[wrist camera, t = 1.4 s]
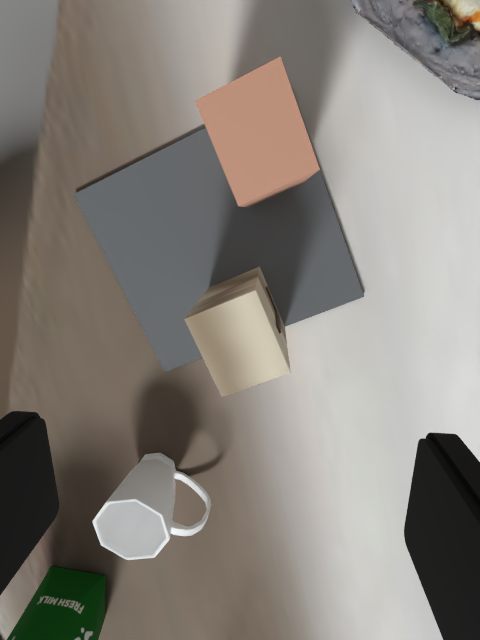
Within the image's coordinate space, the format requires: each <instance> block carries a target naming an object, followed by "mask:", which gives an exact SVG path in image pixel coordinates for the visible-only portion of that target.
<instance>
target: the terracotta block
mask: <svg viewBox="0 0 480 640" xmlns="http://www.w3.org/2000/svg"><path fill="white" fill-rule="evenodd" d="M195 102H196V105H197V107H198V109H199V112H200V114H201V117H202V119H203V122H204V124H205V126H206V129H207V131H208V134H209V136H210V139H211V141H212V143H213V146H214V148H215V151H216V153H217V156H218V158H219V160H220V163H221V165H222V168H223V170H224V173H225V175H226V177H227V180H228V182H229V185H230V187H231V190H232V192H233V194H234V197H235V199H236V202H237V204H238V206H240V207H250V206H252V205H254V204H257V203H259V202H261V201H263V200H265V199H268V198H270V197H272V196H274V195H276V194H279V193H281V192H283V191H285V190H288V189H290V188H292V187H294V186H296V185H299V184H301V183H303V182H305V181H306V180H307V179H308V178H310V177H311V176H312V175H313V174H315V173H316V172H317V171H318V170H320V168H319V165H318V162H317V159H316V156H315V154H314V151H313V148H312V145H311V142H310V139H309V136H308V134H307V131H306V128H305V125H304V122H303V119H302V116H301V114H300V111H299V108H298V105H297V102H296V99H295V96H294V94H293V91H292V88H291V85H290V82H289V79H288V76H287V74H286V71H285V68H284V65H283V62H282V59H281V56H280V57H278V58H276V59H274V60H272V61H270V62H268V63H267V64H265V65H263V66H261V67H259V68H257V69H255V70H253V71H251V72H249V73H247V74H246V75H244V76H242V77H240V78H238V79H236V80H234V81H232V82H230V83H228V84H226V85H224V86H223V87H221V88H219V89H217V90H215V91H213V92H211V93H209V94H207V95H205V96H203V97H202V98H200V99H198V100H196V101H195Z"/></svg>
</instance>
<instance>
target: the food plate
mask: <svg viewBox="0 0 480 640" xmlns="http://www.w3.org/2000/svg"><path fill="white" fill-rule="evenodd" d="M352 4H353V6H354V8H356V11H357V12H358V14H359V13H360V14H359V15H362V17H363V16H364V17H365V18H364V17H363V18H364V19H366V20H367V21H368V22H369V23H370V24H372V25H373V26H374V27H375V28H377V29H378V30H379V31H380V32H382V33H383V34H384V35H385V36H387V37H388V38H389V39H390V40H392V41H393V42H394V44H395V45H396V46H398V47H400V48H401V50H403V51H404V52H405V53H407V54H409V55H410V56H411V57H412V58H413V60H415V61H417V62H419V63H420V64H421V65H423V67H425V68H426V69H427V70H428V71H429V72H431V73H432V74H433V75H435V76H436V77H438V78H439V79H440V80H441V81H442V82H444V83H445V84H446V85H447V86H448V87H449V86H451V87H450V89H451V88H453V87H455V90H453V91H454V92H456V93H459V94H462V95H463V94H464V95H465V96H466V95H467V96H468V97H470V98H472V97H473V99H475V100H480V0H352ZM357 12H356V13H357Z"/></svg>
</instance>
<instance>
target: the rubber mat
mask: <svg viewBox="0 0 480 640" xmlns="http://www.w3.org/2000/svg"><path fill="white" fill-rule="evenodd" d="M73 195H74V197H75V199H76V201H77V203H78V204H79V206H80V208H81V210H82V212H83V214H84V216H85V218H86V220H87V222H88V224H89V226H90V228H91V230H92V232H93V233H94V235H95V237H96V239H97V241H98V243H99V245H100V247H101V249H102V251H103V253H104V255H105V257H106V259H107V261H108V262H109V264H110V266H111V268H112V270H113V272H114V274H115V276H116V278H117V280H118V282H119V284H120V286H121V288H122V290H123V291H124V293H125V295H126V297H127V299H128V301H129V303H130V305H131V307H132V309H133V311H134V313H135V315H136V317H137V319H138V320H139V322H140V324H141V326H142V328H143V330H144V332H145V334H146V336H147V338H148V340H149V342H150V344H151V346H152V348H153V349H154V351H155V353H156V355H157V357H158V359H159V361H160V363H161V365H162V367H163V369H164V371H165V372H167V371H169V370H172V369H174V368H177V367H180V366H182V365H185V364H188V363H190V362H193V361H196V360H198V359H201V358H203V357H202V355H201V353H200V351H199V349H198V347H197V345H196V343H195V340H194V338H193V336H192V334H191V332H190V330H189V328H188V326H187V324H186V322H185V320H184V319H185V317H186V316H187V315H188V314H189V312H190V311H191V310H192V308H193V307H194V306H195V305H196V303H197V302H198V301H199V299H200V298H201V297H202V296H203V294H204V293H205V292H206V290H207V289H208V288H209V287H212V286H214V285H216V284H219V283H221V282H224V281H226V280H228V279H231V278H233V277H236V276H238V275H240V274H243V273H245V272H248V271H250V270H252V269H255V268H257V267H260V269H261V271H262V273H263V276H264V278H265V281H266V283H267V285H268V288H269V290H270V293H271V295H272V297H273V300H274V302H275V305H276V307H277V310H278V312H279V314H280V317H281V319H282V322H283V324H284V326H288V325H290V324H293V323H296V322H298V321H301V320H304V319H306V318H309V317H311V316H314V315H317V314H319V313H322V312H325V311H327V310H330V309H332V308H335V307H338V306H340V305H343V304H346V303H348V302H351V301H354V300H356V299H359V298H361V297H364V294H363V291H362V289H361V286H360V283H359V280H358V277H357V274H356V271H355V269H354V266H353V263H352V260H351V257H350V254H349V251H348V249H347V246H346V243H345V240H344V237H343V234H342V231H341V229H340V226H339V223H338V220H337V217H336V214H335V211H334V209H333V206H332V203H331V200H330V197H329V194H328V191H327V188H326V186H325V183H324V180H323V177H322V174H321V171H320V170H318V171H317V172H316V173H315V174H313V175H312V176H311V177H310V178H308V179H307V180H306V181H305V182H303V183H301V184H299V185H296V186H294V187H292V188H290V189H288V190H285V191H283V192H281V193H279V194H276V195H274V196H272V197H270V198H268V199H265V200H263V201H261V202H259V203H257V204H254V205H252V206H250V207H240V206H238V204H237V202H236V199H235V197H234V194H233V192H232V190H231V187H230V185H229V182H228V180H227V177H226V175H225V173H224V170H223V168H222V165H221V163H220V160H219V158H218V156H217V153H216V151H215V148H214V146H213V143H212V141H211V139H210V136H209V134H208V131H207V129H206V128H204V129H202V130H200V131H198V132H196V133H194V134H192V135H190V136H188V137H186V138H184V139H182V140H180V141H178V142H176V143H174V144H172V145H170V146H168V147H166V148H164V149H162V150H160V151H158V152H156V153H154V154H152V155H150V156H148V157H146V158H144V159H142V160H140V161H138V162H136V163H134V164H132V165H130V166H129V167H127V168H125V169H123V170H121V171H119V172H117V173H115V174H113V175H111V176H109V177H107V178H105V179H103V180H101V181H99V182H97V183H95V184H93V185H91V186H89V187H87V188H85V189H83V190H81V191H79V192H77V193H75V194H73Z"/></svg>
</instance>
